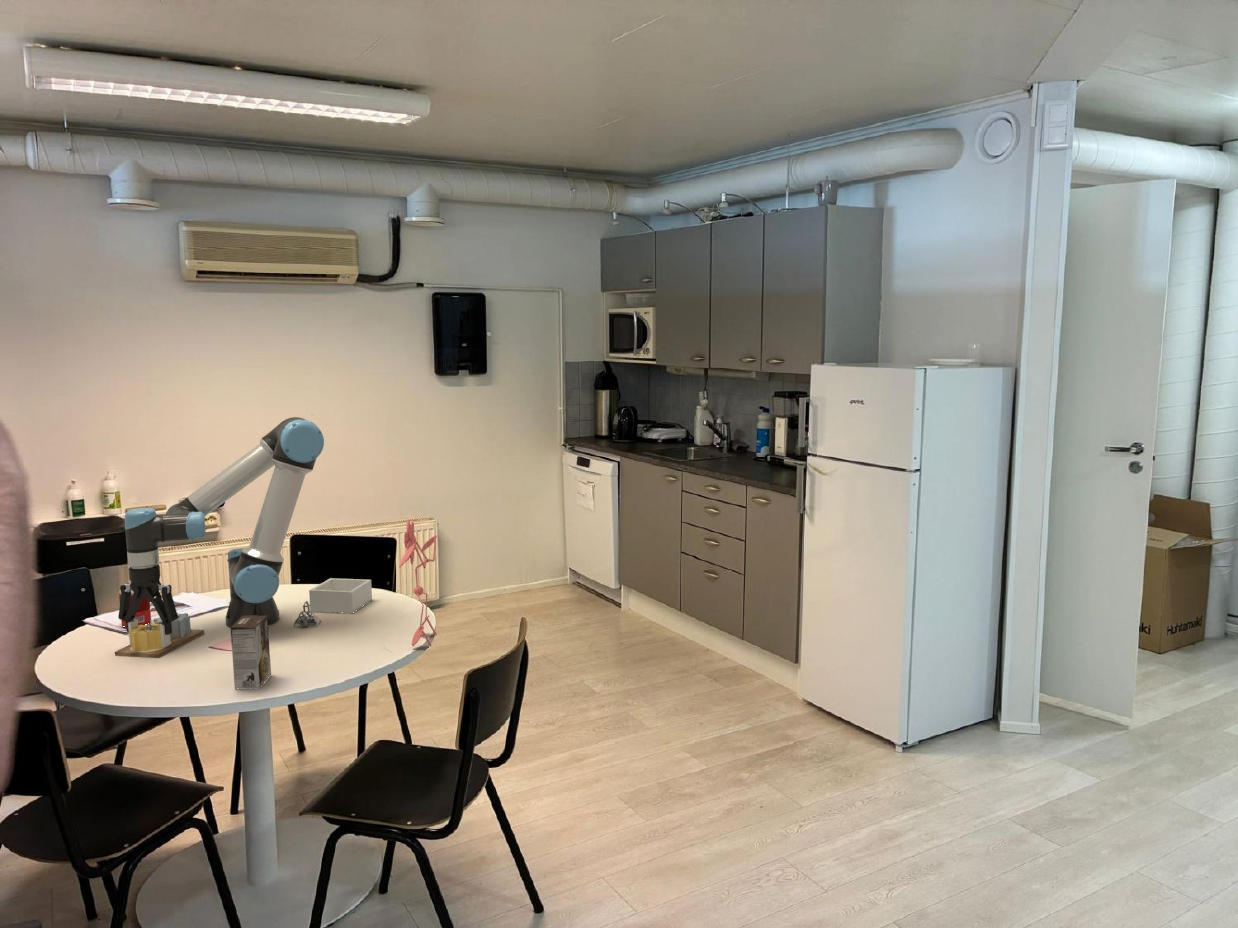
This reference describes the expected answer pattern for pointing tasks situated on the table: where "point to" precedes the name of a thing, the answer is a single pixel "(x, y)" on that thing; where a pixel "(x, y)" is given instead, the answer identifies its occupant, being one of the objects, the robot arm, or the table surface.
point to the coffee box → (250, 651)
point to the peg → (149, 627)
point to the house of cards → (307, 618)
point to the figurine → (411, 546)
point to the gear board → (162, 651)
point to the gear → (178, 625)
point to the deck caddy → (340, 595)
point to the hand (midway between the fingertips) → (150, 644)
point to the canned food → (140, 611)
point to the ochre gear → (146, 638)
